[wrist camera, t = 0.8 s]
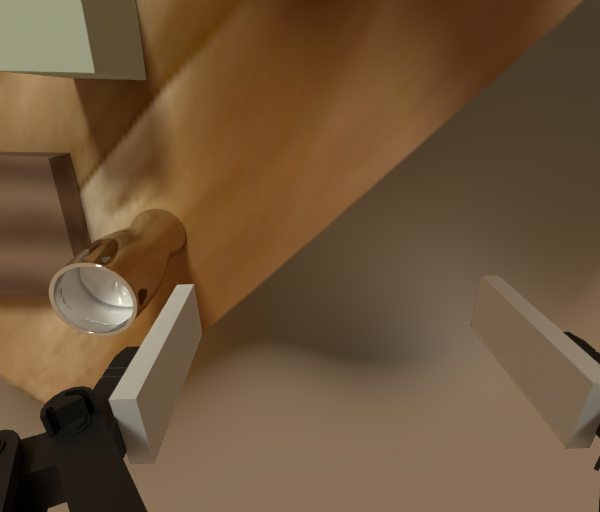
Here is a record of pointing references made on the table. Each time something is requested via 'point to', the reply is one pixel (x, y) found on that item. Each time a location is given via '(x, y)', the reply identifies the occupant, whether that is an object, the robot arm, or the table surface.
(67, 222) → the walnut block
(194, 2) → the table surface
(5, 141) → the table surface
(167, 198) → the table surface
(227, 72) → the table surface
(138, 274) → the beer glass
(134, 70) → the sage block
